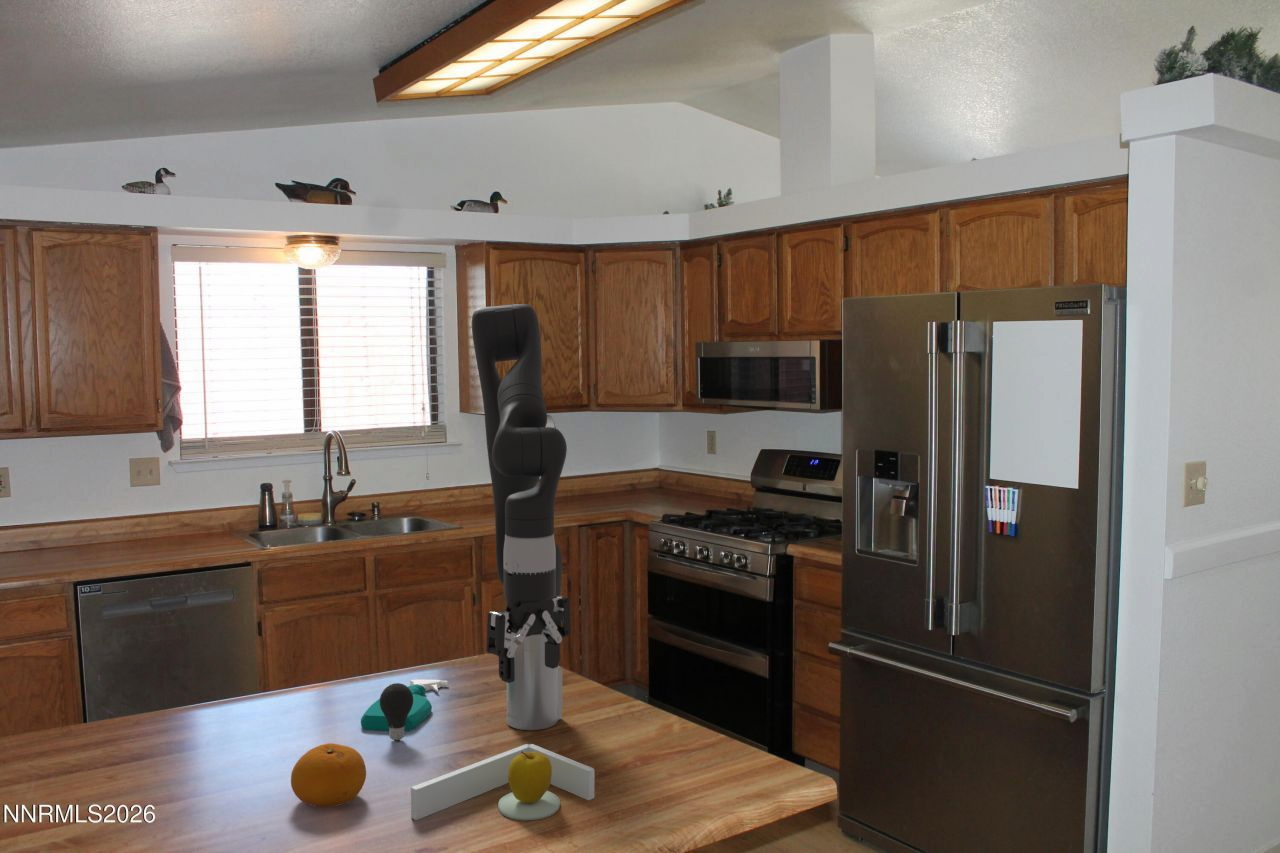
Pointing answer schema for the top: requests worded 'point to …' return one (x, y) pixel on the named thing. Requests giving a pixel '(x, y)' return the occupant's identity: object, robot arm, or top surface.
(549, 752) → the grey corner wall
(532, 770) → the apple
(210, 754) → the top surface
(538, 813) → the pad
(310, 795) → the fruit
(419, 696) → the spray bottle
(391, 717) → the light bulb
